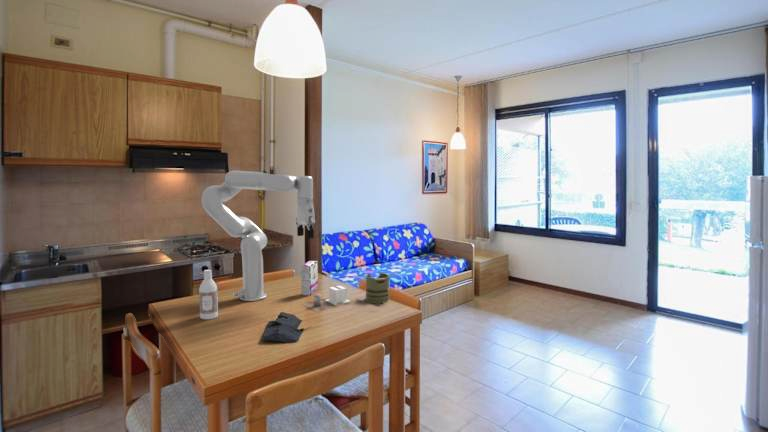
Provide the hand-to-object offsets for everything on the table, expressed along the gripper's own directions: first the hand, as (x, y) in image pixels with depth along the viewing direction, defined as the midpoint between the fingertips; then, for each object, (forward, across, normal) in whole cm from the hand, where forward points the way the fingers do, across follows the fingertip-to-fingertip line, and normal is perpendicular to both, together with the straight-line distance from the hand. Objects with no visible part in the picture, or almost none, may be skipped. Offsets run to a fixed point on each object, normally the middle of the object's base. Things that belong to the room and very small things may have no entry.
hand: (305, 236), depth 189 cm
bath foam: (+31, +1, +45) cm, 54 cm away
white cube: (+29, -18, -7) cm, 34 cm away
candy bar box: (+31, +3, -4) cm, 31 cm away
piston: (+31, -24, -26) cm, 47 cm away
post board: (+30, -18, -2) cm, 35 cm away
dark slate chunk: (+31, -33, +28) cm, 53 cm away
